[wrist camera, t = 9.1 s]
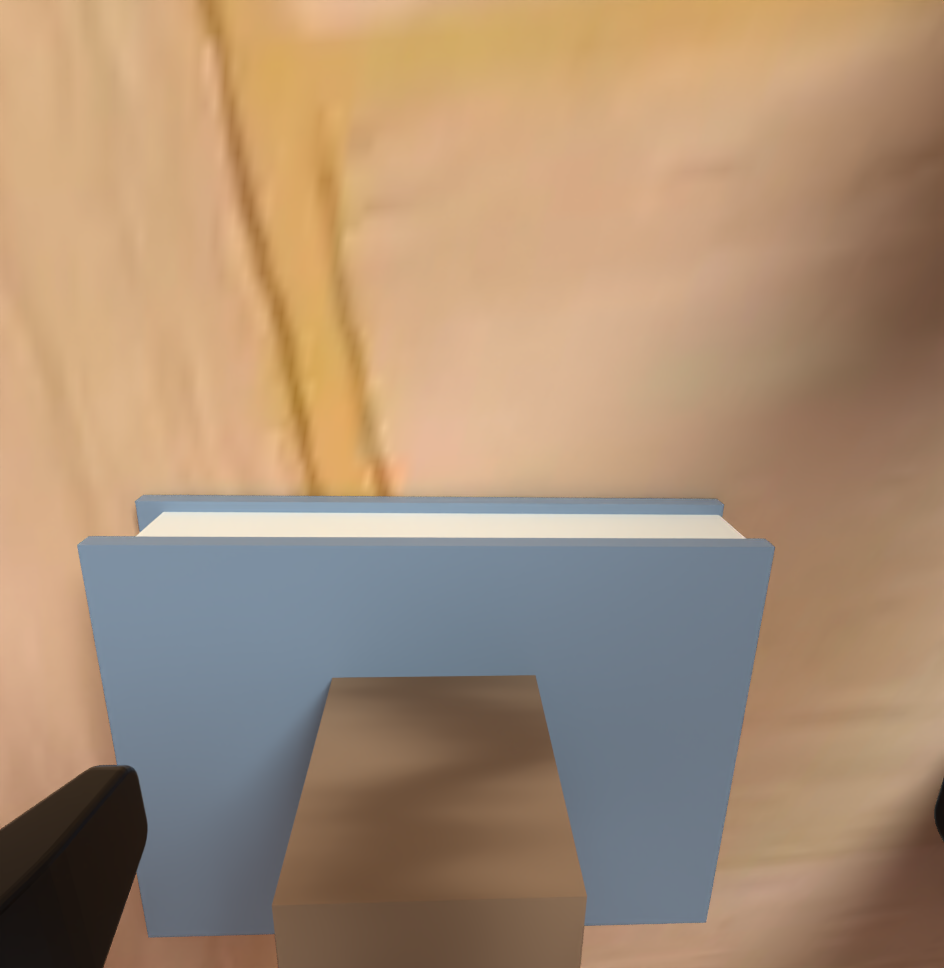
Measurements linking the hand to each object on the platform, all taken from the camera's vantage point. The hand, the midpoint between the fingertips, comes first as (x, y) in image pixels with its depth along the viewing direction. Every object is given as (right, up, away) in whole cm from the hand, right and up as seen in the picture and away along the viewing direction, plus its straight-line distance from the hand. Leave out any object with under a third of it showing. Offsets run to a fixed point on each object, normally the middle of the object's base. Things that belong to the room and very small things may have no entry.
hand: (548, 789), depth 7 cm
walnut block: (-2, -4, +10) cm, 10 cm away
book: (-2, -3, +13) cm, 13 cm away
